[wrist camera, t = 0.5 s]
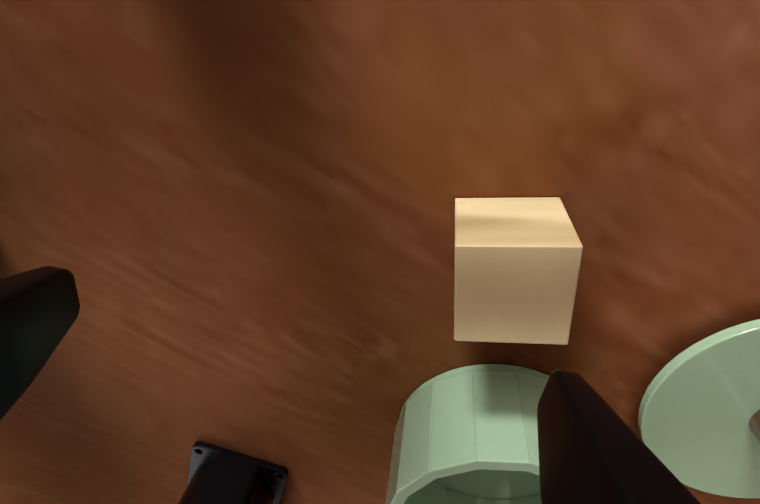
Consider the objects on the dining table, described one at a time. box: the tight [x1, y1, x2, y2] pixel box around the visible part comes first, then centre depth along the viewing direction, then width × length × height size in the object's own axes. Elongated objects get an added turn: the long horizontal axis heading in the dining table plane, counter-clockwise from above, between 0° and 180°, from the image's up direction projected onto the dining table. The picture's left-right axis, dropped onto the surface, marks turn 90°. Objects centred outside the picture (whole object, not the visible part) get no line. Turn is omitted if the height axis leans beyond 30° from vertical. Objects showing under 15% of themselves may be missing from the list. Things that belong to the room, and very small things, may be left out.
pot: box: [385, 364, 550, 504], centre depth 25 cm, size 11×11×6 cm
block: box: [454, 197, 583, 345], centre depth 20 cm, size 4×4×4 cm
